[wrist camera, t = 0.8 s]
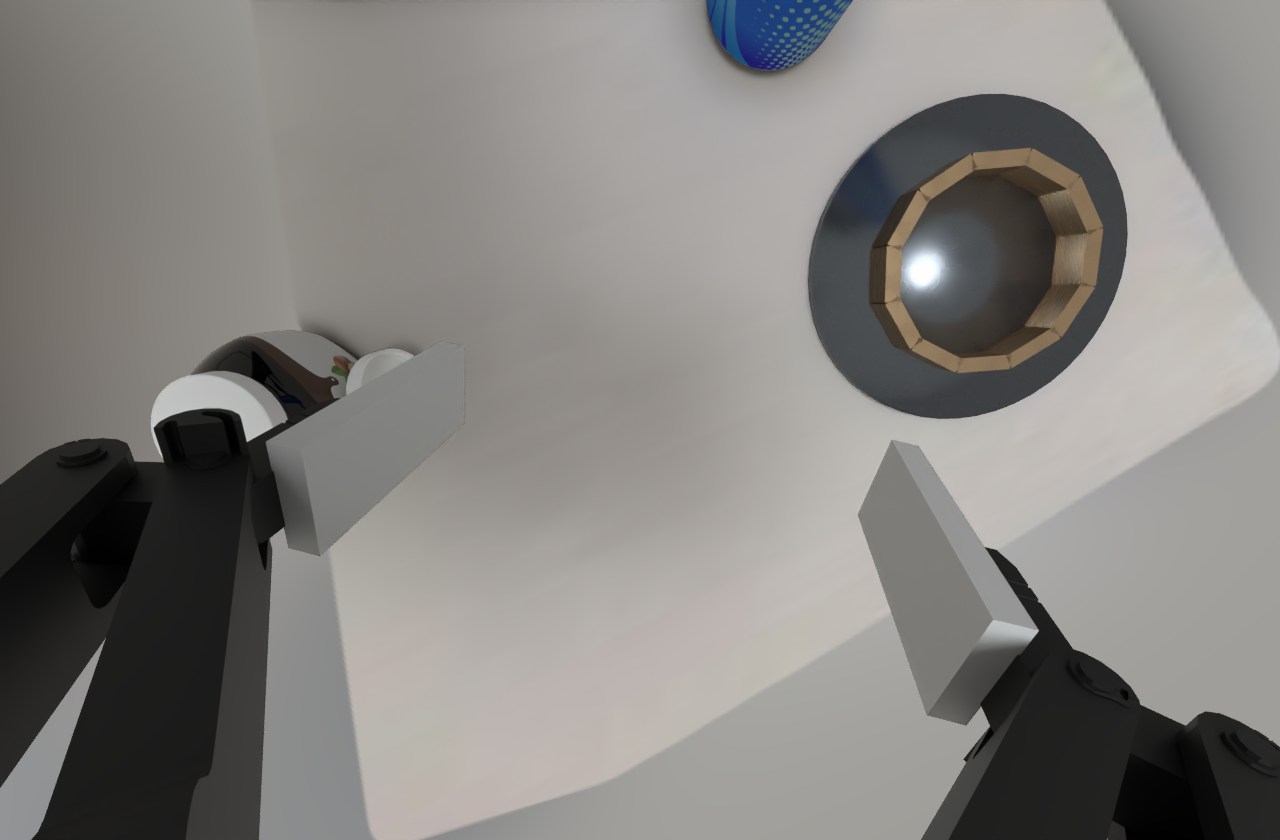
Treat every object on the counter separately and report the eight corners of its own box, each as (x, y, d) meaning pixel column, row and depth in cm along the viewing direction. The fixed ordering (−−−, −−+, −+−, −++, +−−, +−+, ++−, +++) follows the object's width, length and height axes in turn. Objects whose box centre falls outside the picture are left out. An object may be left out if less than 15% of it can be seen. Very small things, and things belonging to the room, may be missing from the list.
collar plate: (751, 227, 36) (763, 220, 33) (1037, 25, 33) (1083, -5, 30) (895, 468, 41) (919, 483, 37) (1160, 308, 38) (1211, 309, 34)
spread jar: (253, 376, 39) (94, 409, 28) (354, 279, 37) (229, 272, 26) (367, 490, 41) (264, 563, 30) (468, 403, 39) (399, 447, 28)
